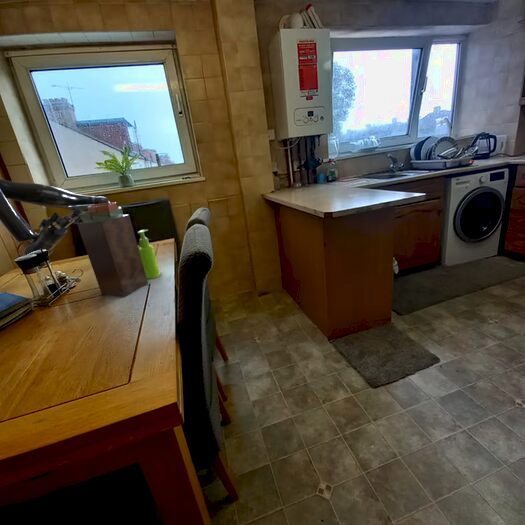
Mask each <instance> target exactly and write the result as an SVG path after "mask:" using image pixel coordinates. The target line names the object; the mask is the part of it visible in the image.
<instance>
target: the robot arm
mask: <svg viewBox="0 0 525 525" xmlns="http://www.w3.org/2000/svg"><path fill="white" fill-rule="evenodd" d="M10 200H13V201H18V202H21V203H26V204H31V205H36V206H42V207H46V208H47V207H48V208H54V209H65V210H68V208H67V207H68V206H76V205H92V204H96V205H97V204H103V203H112V202H111V200H110V199H108V198H107V197H105V196H95V195H94V196H93V195H92V196H91V195H85V194H77V193H74V192H71V191H69V190H65V189H63V188H59V187H55V186H51V185H47V184H42V183H34V182H22V181H21V182H18V181H10V180H6V179H2V178H0V222H1V224H2V225H3V227H4V228H5V229H6V230H7V232H8V233H9V234H10V235H11V236H12V237H13V238H14V239H15V241H17V243H25V242H30V243H29V244H28V245H27V246H26V247H25V248H24V249H23V256H24V255H27V254H29V253H31V252H33V251H36V250H38V249H40V248H41V249H46V250H48V256H47V257H49V256H50V255H52V254H53V251H54V248H55V247H56V246H57V244H58V243H59V242H61V241H62V240H63V238H64V237H65V236H66V235H67V233H68V227H69V226H70V225H72V224H73V225H77V223H79V222H80V221H81V218H80V214H81V213H83V212H87V211H88V209H85V210H72V212H71V213H70V214H69V213H67V214H65V215H64V216H61V215H60V214H59V212H58V211H55V212H53V214H52V215H51V216H50V217H48V218H47V219H46V218H43V219H42V220H41V222H40V224H39V226H38V228H39V229H40V230H39V233H37V232H35V230H34V229H33V228H32V227H31V226H30V225H29V223H28V222H27V221H26V220H25V219H24V218H23V217H22V215H21V214H20V213H19V212H18V211H17V209H16V208H15V207H14V206H13V205H12V204H11V202H10ZM148 241H153V239H151V238H148ZM138 246H139V247H141V245H140V242H139V243H138Z"/></svg>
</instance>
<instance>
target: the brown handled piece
mask: <svg viewBox="0 0 525 525" xmlns="http://www.w3.org/2000/svg"><path fill="white" fill-rule="evenodd" d="M118 207H119V206H118V203H117V201H114V202H111V203H103V204H97V205H96V204H92V205H76V206H68V207H67V208H68V209H67V211H74V210H85V209H88V211H89V214H94V213H100V212H106V211H107V212H108V211H111V210H115V209H118ZM108 215H109V214H108Z"/></svg>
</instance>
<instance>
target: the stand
mask: <svg viewBox="0 0 525 525" xmlns="http://www.w3.org/2000/svg"><path fill="white" fill-rule="evenodd" d="M117 207H118V209H115V210H111V211H108V212H107V211H106V212H100V213H94V214H89V211H87V212H85V211H82V212H81V213H80V218H81V219H80V221H79V222H78V223H77V224H76V225H77V227H78V231H79V233H80V236H81V239H82V243H83V245H84V247H85V250H86V254H87V256H88V259H89V262H90V265H91V267H92V271H93V273H94V276H95V279H96V282H97V285H98V288H99V291H100V293H101V294H100V295H101V296H109V297H110V296H111V297H122V298H126V297H127V296H129V295H131V294H132V293H134V292H136V291H138V290H139V289H141V288H143V287H144V286H146V285H148V284H149V281H148V279H147V278H146V274H145V270H144V267H143V263H142V260H141V256H140V252H139V249H138V248H139V244H138V242H137V238H136V235H135V231H134V227H133V224H132V220H131V216H130V214H124V213H123V209H122V206H117ZM108 214H109V215H108Z"/></svg>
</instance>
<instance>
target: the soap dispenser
mask: <svg viewBox="0 0 525 525" xmlns="http://www.w3.org/2000/svg"><path fill="white" fill-rule="evenodd" d="M147 231H148V232H149V229H147V228H146V229H140V230H138V231H137V234H138V235H139V236H140V238H139V239H138V242H139V243H140V245H141V247H140V245H139V246H138V249H139V252H140V256H141V260H142V263H143V267H144V270H145V274H146V278H147V280H151V279H156V278H158V277H160V276H161V272H160V267H159V263H158V260H157V256H156V252H155V247H154V245H152V244H150V242H149V241H150V240H148V239H149V238H148V237H146V235H145V232H147Z"/></svg>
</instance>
